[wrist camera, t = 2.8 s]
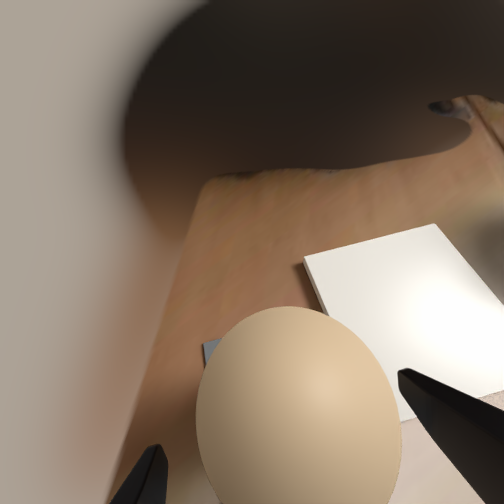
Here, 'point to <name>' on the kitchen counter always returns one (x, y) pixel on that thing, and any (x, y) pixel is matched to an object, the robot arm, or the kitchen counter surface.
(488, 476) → the robot arm
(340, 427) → the tan tapered rounded piece
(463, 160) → the kitchen counter surface
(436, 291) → the cutting board
